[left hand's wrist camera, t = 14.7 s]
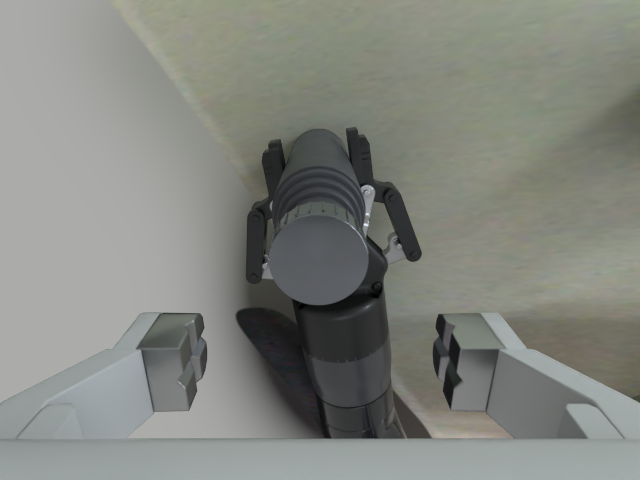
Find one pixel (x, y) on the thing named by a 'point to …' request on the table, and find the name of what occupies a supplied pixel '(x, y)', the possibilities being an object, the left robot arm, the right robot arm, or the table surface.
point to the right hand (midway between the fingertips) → (312, 136)
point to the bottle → (318, 177)
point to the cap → (318, 254)
